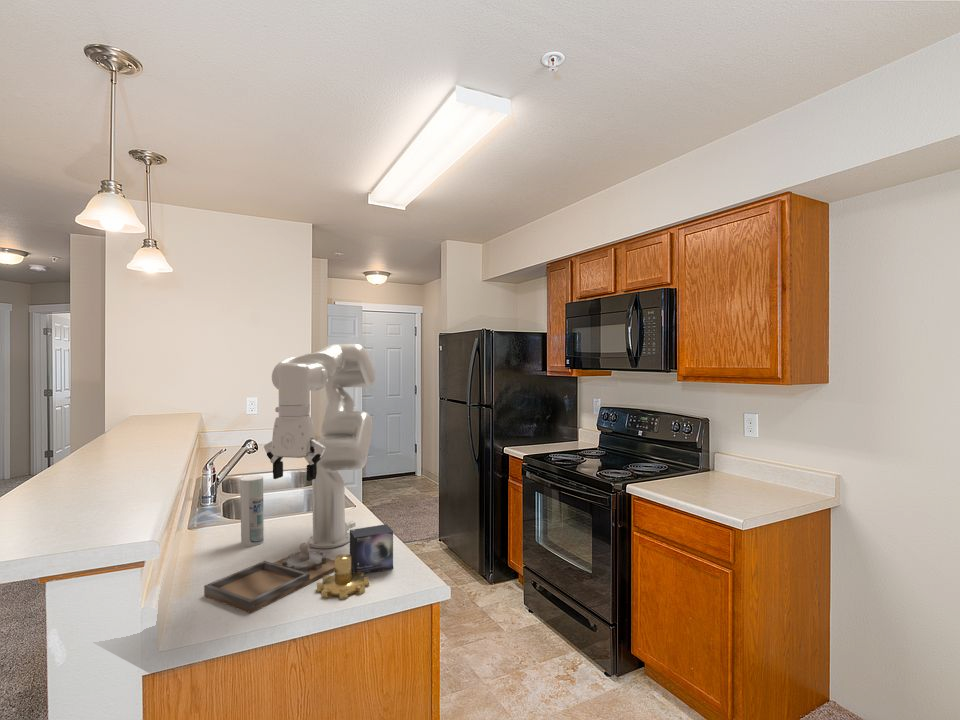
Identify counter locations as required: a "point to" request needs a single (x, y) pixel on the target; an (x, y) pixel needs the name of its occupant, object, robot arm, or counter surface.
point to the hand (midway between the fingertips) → (294, 478)
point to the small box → (371, 549)
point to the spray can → (252, 510)
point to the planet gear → (343, 580)
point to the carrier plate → (270, 580)
